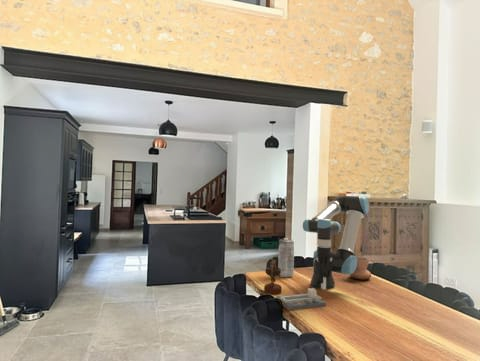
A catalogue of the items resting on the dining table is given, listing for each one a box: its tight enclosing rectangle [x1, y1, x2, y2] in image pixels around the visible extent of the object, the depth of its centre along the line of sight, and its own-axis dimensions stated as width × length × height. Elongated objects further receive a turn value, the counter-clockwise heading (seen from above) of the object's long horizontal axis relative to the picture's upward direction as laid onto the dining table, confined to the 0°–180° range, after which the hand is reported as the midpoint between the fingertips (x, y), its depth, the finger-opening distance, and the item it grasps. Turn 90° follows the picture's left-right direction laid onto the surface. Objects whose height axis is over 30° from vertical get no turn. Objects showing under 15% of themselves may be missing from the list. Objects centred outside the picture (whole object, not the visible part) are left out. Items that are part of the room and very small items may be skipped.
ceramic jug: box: [349, 256, 372, 281], centre depth 222 cm, size 18×14×14 cm
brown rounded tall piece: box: [263, 258, 283, 296], centre depth 191 cm, size 15×11×20 cm
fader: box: [307, 287, 317, 298], centre depth 174 cm, size 3×4×5 cm
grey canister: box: [277, 237, 295, 278], centre depth 226 cm, size 9×10×27 cm
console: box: [275, 292, 327, 311], centre depth 172 cm, size 22×16×4 cm
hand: (323, 288), depth 176 cm, fingers closed
